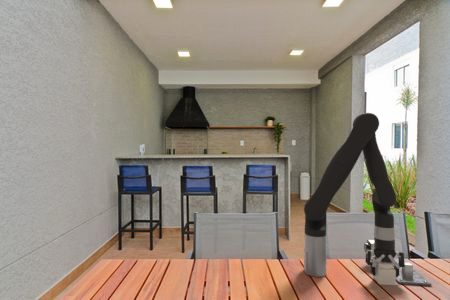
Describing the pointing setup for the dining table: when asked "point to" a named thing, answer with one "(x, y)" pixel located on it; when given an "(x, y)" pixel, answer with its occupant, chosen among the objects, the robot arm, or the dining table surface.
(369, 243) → the pneumatic valve
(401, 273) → the shaft mount
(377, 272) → the knob
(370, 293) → the dining table surface
